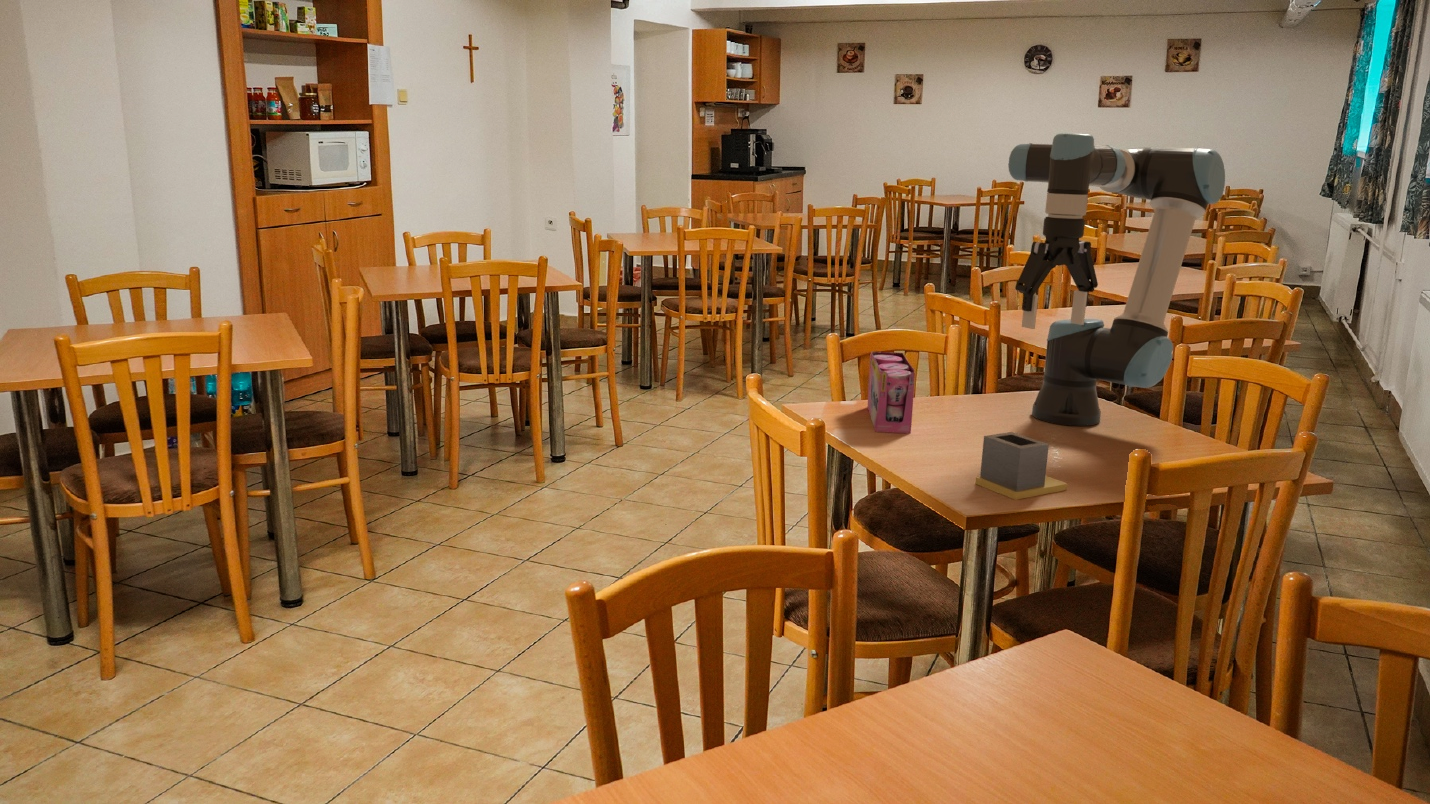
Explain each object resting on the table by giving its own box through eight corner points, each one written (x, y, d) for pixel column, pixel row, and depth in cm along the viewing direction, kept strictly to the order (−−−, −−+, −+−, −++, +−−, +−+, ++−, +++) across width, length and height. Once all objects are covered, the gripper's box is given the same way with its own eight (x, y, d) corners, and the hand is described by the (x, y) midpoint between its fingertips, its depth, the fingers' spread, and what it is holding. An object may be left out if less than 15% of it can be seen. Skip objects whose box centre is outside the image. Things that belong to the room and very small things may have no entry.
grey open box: (980, 477, 195) (983, 435, 193) (1007, 472, 198) (1011, 431, 196) (1016, 492, 187) (1020, 448, 185) (1044, 486, 190) (1048, 444, 189)
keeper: (1025, 474, 201) (1029, 438, 200) (1066, 489, 193) (1071, 452, 191) (975, 483, 195) (978, 446, 193) (1015, 499, 187) (1019, 460, 185)
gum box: (912, 435, 227) (917, 374, 223) (875, 434, 227) (879, 372, 224) (899, 408, 250) (904, 352, 247) (866, 407, 250) (870, 351, 247)
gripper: (1093, 214, 212) (1081, 319, 217) (1003, 215, 200) (992, 326, 205) (1124, 217, 206) (1111, 325, 211) (1033, 218, 193) (1021, 332, 198)
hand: (1053, 325), depth 208 cm, fingers open, 13 cm apart
